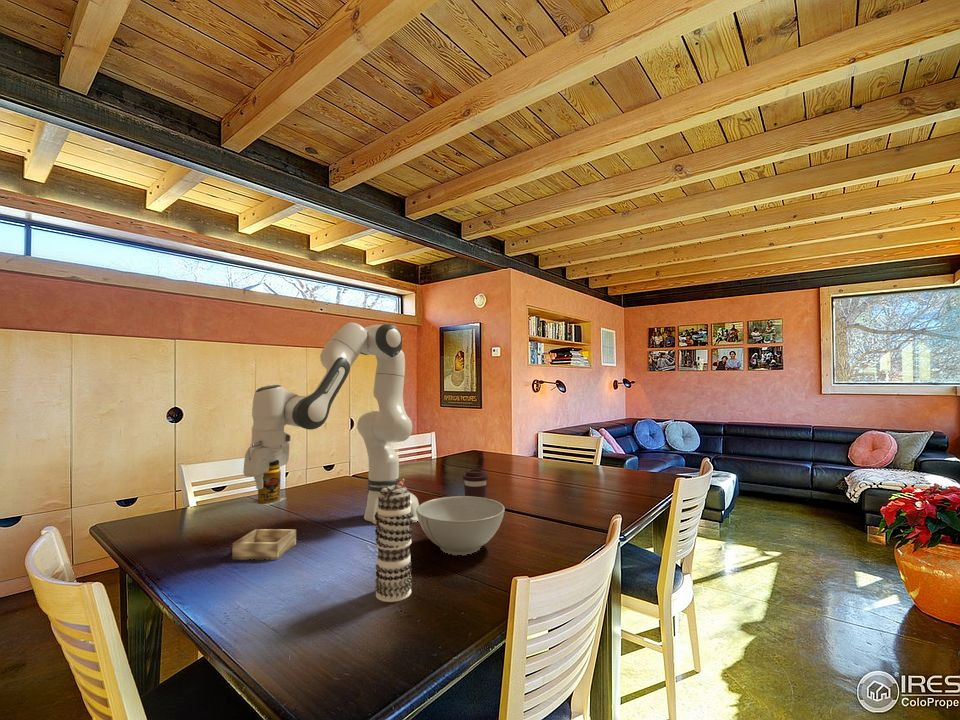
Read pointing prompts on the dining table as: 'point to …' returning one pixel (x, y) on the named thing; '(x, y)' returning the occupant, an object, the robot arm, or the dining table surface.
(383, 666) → the dining table surface
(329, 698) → the dining table surface
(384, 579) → the decorative candle
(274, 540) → the caddy
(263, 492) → the condiment
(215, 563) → the dining table surface
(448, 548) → the decorative bowl
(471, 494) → the coffee cup
